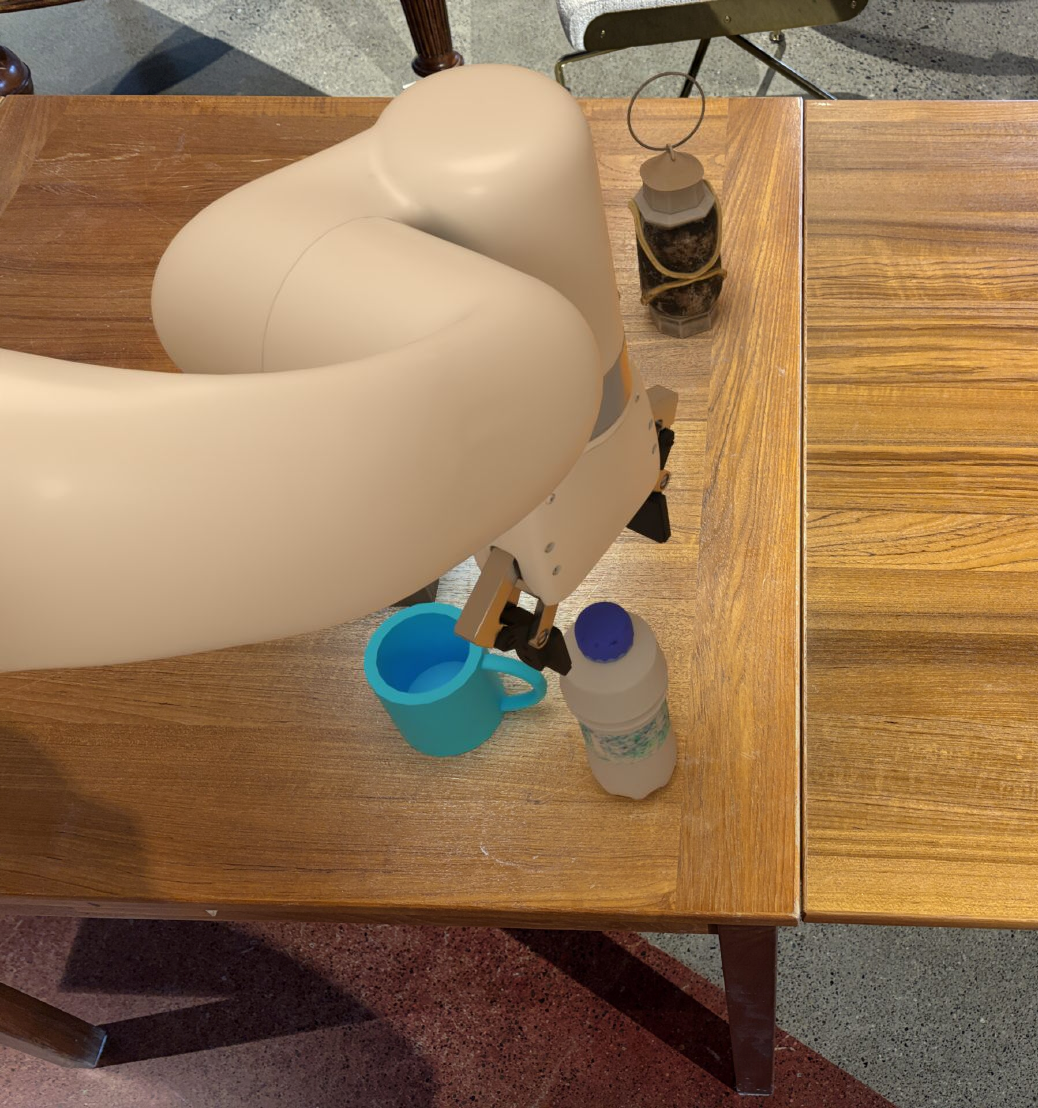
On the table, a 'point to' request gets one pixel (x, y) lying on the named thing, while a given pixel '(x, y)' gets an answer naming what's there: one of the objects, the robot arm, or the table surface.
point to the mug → (442, 681)
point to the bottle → (620, 699)
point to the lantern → (677, 237)
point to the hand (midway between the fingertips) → (597, 593)
